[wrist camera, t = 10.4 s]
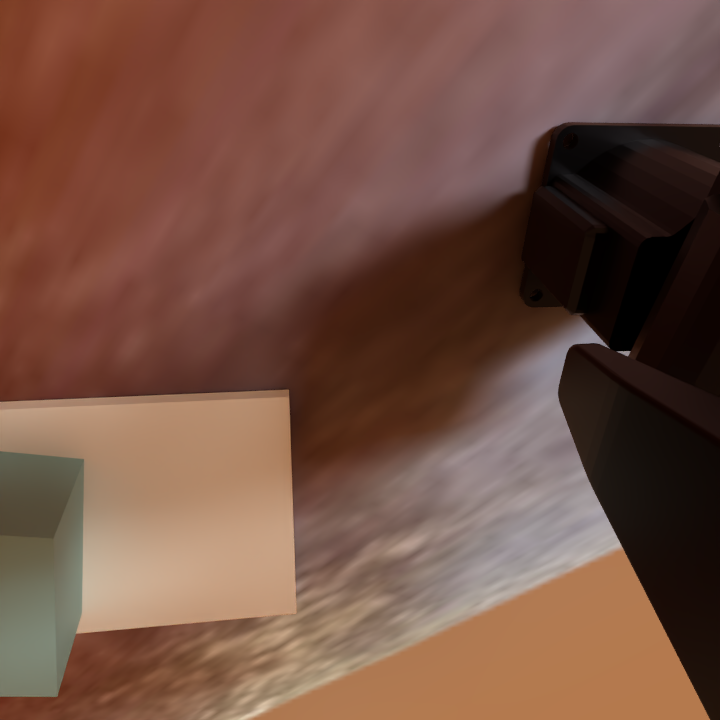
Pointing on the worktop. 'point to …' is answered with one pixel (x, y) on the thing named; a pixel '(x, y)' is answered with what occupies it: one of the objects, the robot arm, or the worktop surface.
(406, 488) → the worktop surface
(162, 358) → the worktop surface
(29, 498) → the grey-green block
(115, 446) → the mat
